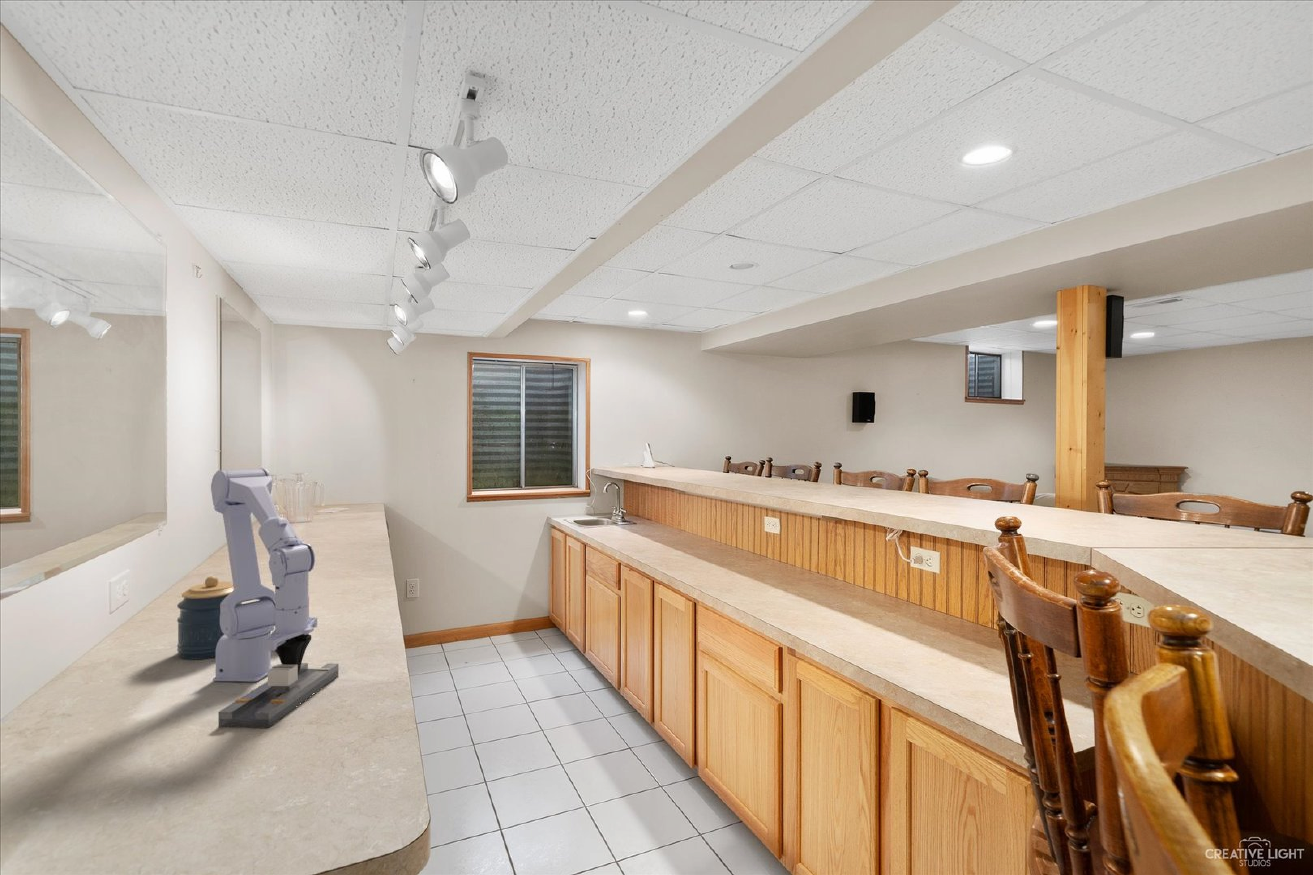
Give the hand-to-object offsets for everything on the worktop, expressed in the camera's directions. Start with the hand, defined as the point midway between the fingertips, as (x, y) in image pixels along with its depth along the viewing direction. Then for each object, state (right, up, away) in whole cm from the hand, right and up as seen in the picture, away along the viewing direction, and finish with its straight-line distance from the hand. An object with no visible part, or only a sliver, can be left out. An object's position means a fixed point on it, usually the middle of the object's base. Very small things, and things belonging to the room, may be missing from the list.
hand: (291, 674), depth 123 cm
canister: (-33, -4, +24) cm, 41 cm away
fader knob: (0, -2, -3) cm, 4 cm away
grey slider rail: (0, -4, -2) cm, 5 cm away
